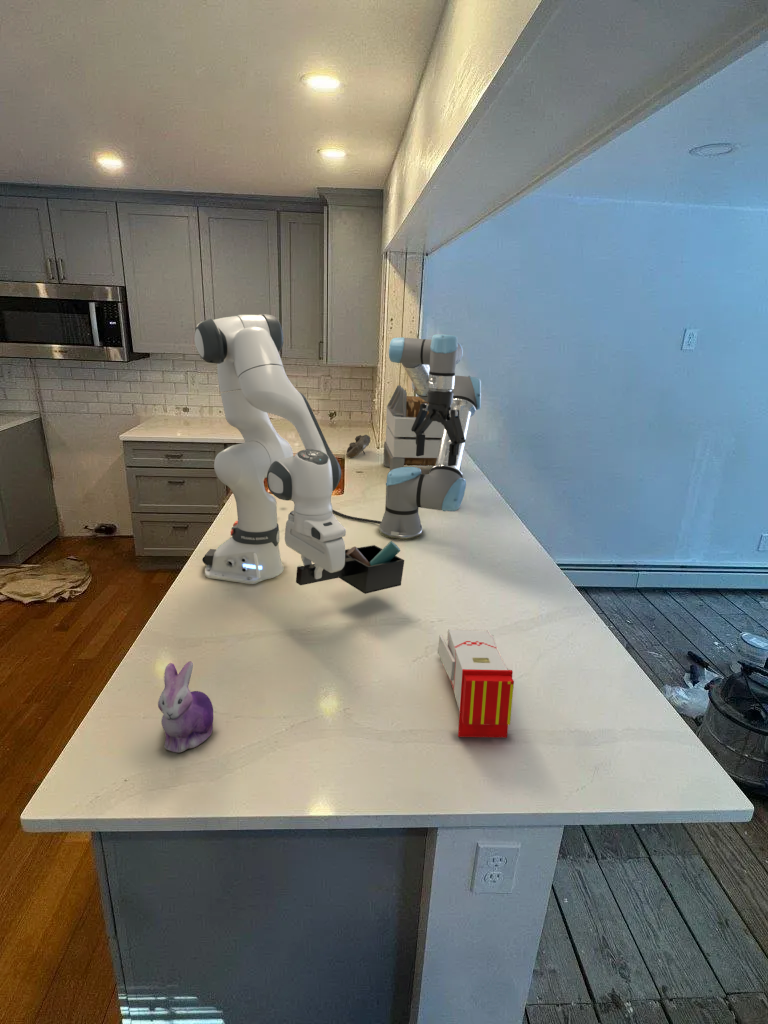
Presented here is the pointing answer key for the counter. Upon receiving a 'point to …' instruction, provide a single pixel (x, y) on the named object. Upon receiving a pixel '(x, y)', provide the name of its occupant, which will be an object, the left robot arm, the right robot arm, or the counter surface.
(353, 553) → the walnut peg
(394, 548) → the teal peg
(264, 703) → the counter surface
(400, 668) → the counter surface
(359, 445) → the fossil
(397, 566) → the black box with handle
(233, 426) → the left robot arm
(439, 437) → the white slatted crate
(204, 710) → the figurine
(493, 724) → the toy
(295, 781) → the counter surface
